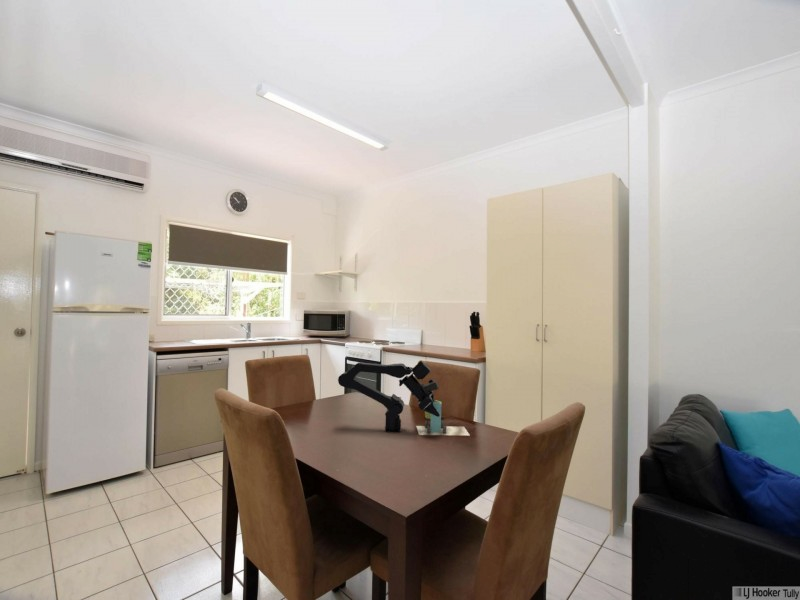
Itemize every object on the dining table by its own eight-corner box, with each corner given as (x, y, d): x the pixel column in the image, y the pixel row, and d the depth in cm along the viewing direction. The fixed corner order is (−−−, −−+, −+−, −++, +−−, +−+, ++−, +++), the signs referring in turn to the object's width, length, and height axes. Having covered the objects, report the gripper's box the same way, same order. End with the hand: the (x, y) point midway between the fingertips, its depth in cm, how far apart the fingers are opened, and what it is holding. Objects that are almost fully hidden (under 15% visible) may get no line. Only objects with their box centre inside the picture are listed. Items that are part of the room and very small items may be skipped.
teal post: (430, 431, 163) (431, 404, 164) (430, 428, 168) (431, 401, 168) (440, 432, 163) (441, 404, 163) (440, 429, 167) (440, 402, 168)
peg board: (418, 437, 159) (419, 427, 159) (416, 428, 171) (416, 419, 171) (470, 437, 160) (470, 428, 160) (463, 428, 172) (464, 420, 172)
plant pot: (418, 417, 188) (419, 400, 188) (435, 416, 192) (435, 399, 192) (427, 423, 179) (428, 404, 179) (444, 421, 183) (445, 403, 183)
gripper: (427, 378, 157) (453, 406, 156) (428, 371, 176) (451, 396, 174) (408, 396, 158) (433, 424, 156) (411, 387, 176) (434, 412, 175)
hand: (439, 413), depth 165 cm, fingers open, 9 cm apart
